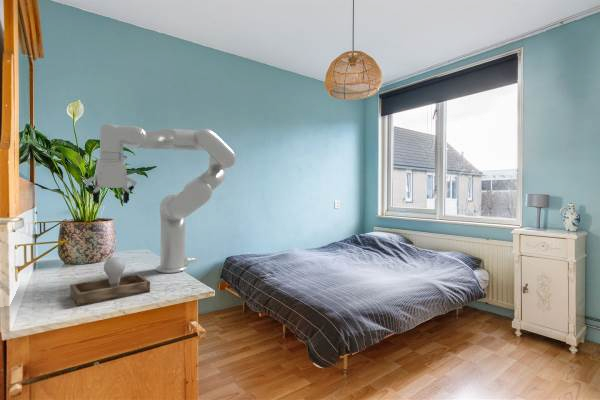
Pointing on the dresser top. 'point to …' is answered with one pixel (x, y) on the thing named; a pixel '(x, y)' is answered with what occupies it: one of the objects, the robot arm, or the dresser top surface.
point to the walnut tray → (108, 289)
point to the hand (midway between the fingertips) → (111, 203)
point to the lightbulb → (114, 270)
